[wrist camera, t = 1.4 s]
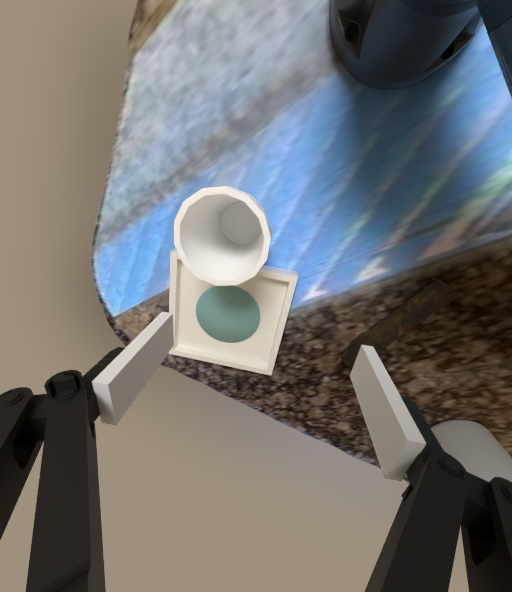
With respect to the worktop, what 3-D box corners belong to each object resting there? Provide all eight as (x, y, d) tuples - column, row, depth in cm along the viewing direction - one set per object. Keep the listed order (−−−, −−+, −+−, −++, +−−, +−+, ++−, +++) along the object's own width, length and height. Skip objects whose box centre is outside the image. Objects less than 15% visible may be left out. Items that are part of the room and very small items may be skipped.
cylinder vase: (415, 422, 46) (542, 645, 23) (489, 412, 43) (715, 655, 21) (420, 462, 51) (532, 682, 28) (487, 455, 48) (673, 695, 25)
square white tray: (177, 247, 37) (170, 251, 34) (297, 271, 36) (298, 277, 34) (173, 345, 45) (168, 353, 42) (271, 366, 44) (271, 375, 42)
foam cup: (250, 266, 37) (235, 302, 25) (200, 232, 35) (158, 252, 24) (287, 214, 33) (290, 226, 21) (232, 173, 32) (202, 162, 20)
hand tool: (431, 272, 35) (452, 283, 30) (447, 290, 35) (469, 303, 31) (330, 345, 42) (335, 363, 37) (345, 359, 42) (352, 377, 38)
